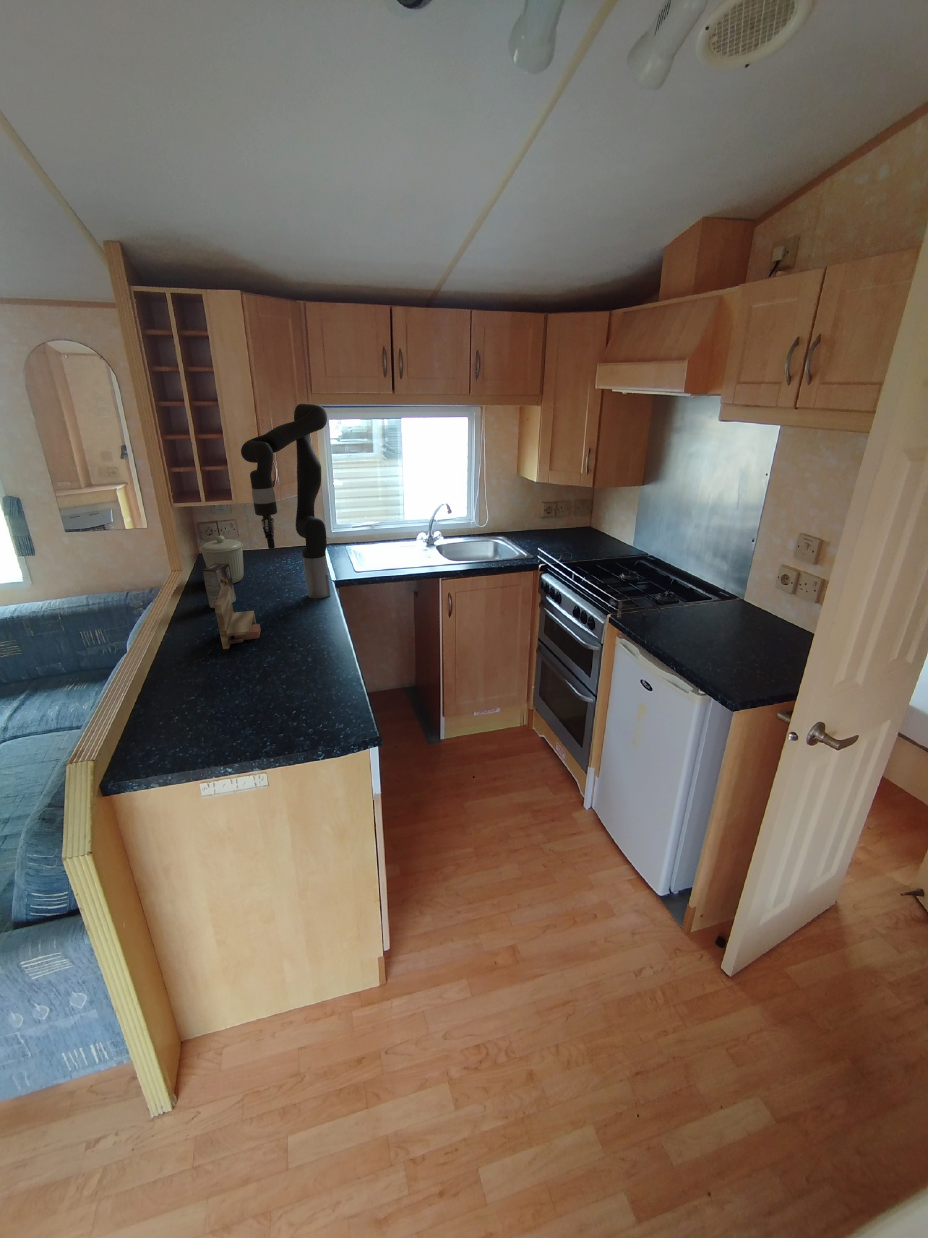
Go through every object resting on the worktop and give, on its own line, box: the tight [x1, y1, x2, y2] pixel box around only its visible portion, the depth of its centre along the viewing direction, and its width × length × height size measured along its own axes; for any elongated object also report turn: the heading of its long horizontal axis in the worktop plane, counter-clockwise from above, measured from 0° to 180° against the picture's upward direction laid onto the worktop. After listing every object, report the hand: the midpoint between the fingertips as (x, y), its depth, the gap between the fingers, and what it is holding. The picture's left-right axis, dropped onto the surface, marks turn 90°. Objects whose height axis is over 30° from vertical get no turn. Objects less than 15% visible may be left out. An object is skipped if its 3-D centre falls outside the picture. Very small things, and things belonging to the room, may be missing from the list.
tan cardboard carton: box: [233, 623, 262, 641], centre depth 197 cm, size 8×7×2 cm
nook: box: [214, 586, 257, 650], centre depth 194 cm, size 9×19×16 cm, turn 14°
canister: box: [199, 535, 244, 584], centre depth 249 cm, size 18×18×21 cm
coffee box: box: [201, 563, 237, 609], centre depth 223 cm, size 9×6×16 cm
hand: (271, 548), depth 203 cm, fingers closed
